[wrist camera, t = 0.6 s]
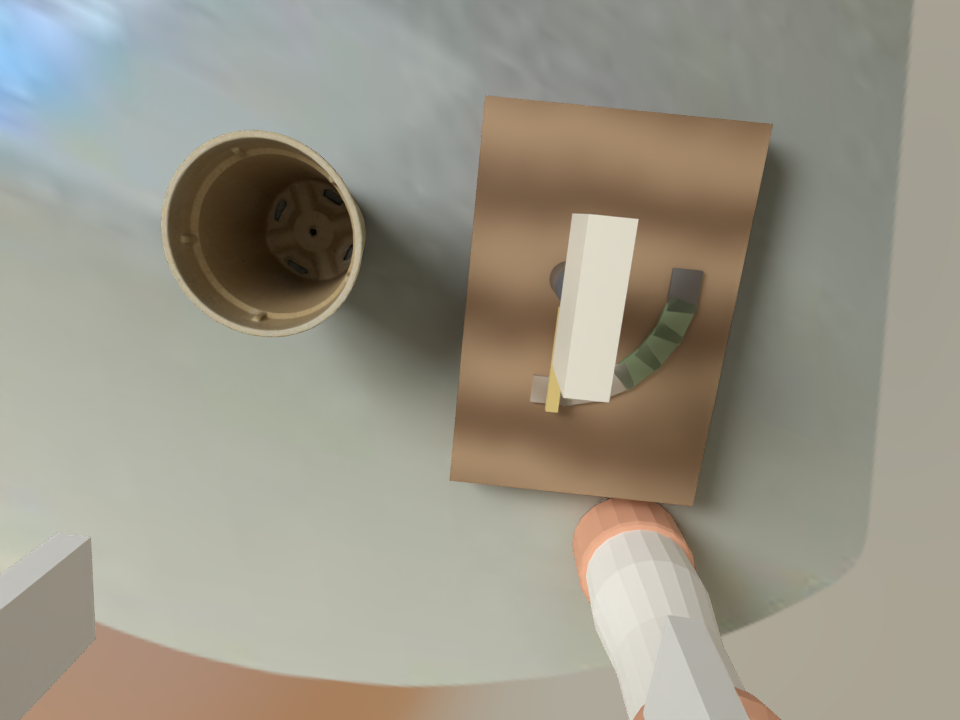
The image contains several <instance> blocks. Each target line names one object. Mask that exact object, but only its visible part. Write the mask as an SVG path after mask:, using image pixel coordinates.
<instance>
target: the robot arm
mask: <svg viewBox="0 0 960 720" xmlns="http://www.w3.org/2000/svg"><path fill="white" fill-rule="evenodd" d="M95 639H96V636H95V614H94V593H93V572H92V552H91V537H86V536H78V535H71V534H64V533H56V534H55V535H53V536H52V537H51V538H49V539H48V540H46V541H45V542H44V543H42V544H41V545H40V546H38V547H37V548H36V549H34V550H33V551H31V552H30V553H29V554H27V555H26V556H25V557H23V558H22V559H21V560H19V561H18V562H16V563H15V564H14V565H12V566H11V567H10V568H8V569H7V570H6V571H4V572H3V573H1V574H0V720H20V719H21V718H22V717H23V716H24V715H25V714H26V713H27V712H28V711H29V710H30V709H31V708H32V707H33V705H34V704H35V703H36V702H37V701H38V700H39V699H40V698H41V697H42V696H43V695H44V694H45V693H46V692H47V690H49V688H50V687H51V686H52V685H53V684H54V683H55V682H56V681H57V680H58V679H59V678H60V677H61V676H62V675H63V673H64V672H65V671H66V670H67V669H68V668H69V667H70V666H71V665H72V664H73V663H74V662H75V661H76V660H77V658H79V656H80V655H81V654H82V653H83V652H84V651H85V650H86V649H87V648H88V647H89V646H90V645H91V644H92V642H94V640H95ZM643 716H644V719H645V720H750V719H749V717H748V715H747V713H746V711H745V709H744V707H743V705H742V703H741V701H740V699H739V697H738V695H737V693H736V691H735V688H734V686H733V684H732V682H731V680H730V678H729V676H728V674H727V672H726V670H725V668H724V666H723V664H722V662H721V660H720V658H719V656H718V653H717V651H716V649H715V647H714V645H713V643H712V641H711V639H710V637H709V635H708V633H707V631H706V629H705V627H704V625H703V623H702V621H701V620H700V619H693V618H686V617H678V616H671V615H667V619H666V623H665V627H664V631H663V635H662V639H661V643H660V647H659V651H658V655H657V659H656V663H655V667H654V671H653V675H652V679H651V683H650V687H649V691H648V695H647V699H646V703H645V707H644V711H643Z"/></svg>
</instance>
